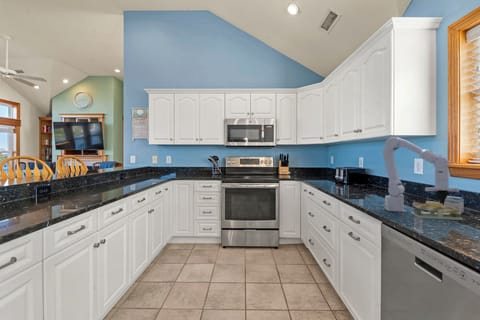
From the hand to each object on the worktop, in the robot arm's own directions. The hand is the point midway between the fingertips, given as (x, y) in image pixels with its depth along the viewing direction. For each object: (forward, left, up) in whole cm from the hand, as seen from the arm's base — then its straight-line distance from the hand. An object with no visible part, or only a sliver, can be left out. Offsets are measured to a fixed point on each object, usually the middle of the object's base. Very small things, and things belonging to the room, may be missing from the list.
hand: (442, 204), depth 134 cm
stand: (-3, 0, -6) cm, 7 cm away
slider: (-4, 0, -2) cm, 4 cm away
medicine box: (+12, +15, -7) cm, 20 cm away
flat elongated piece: (-3, 0, -2) cm, 4 cm away
